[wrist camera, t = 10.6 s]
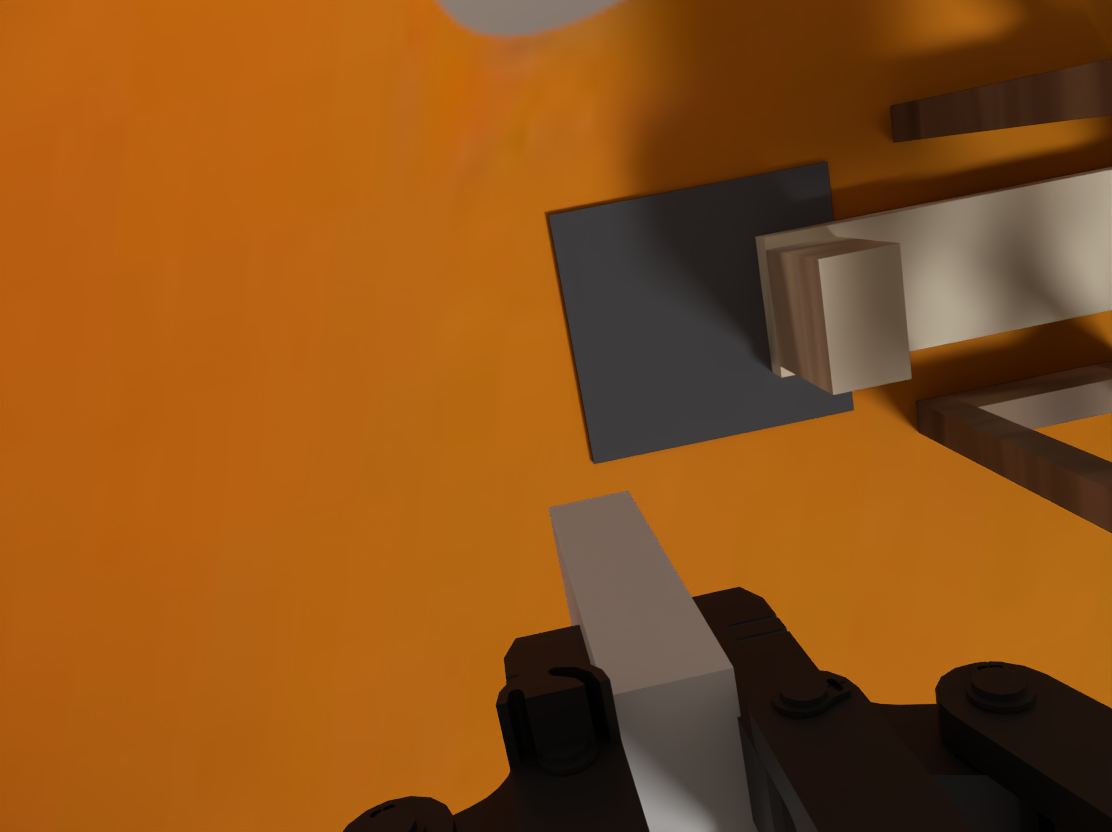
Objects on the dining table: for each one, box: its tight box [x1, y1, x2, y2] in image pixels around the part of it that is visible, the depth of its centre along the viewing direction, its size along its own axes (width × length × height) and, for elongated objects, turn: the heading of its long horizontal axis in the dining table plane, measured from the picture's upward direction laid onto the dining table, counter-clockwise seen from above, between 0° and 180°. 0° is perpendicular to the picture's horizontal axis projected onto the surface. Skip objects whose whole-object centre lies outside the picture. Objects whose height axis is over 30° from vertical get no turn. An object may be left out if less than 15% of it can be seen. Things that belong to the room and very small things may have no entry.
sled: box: [755, 167, 1112, 395], centre depth 36 cm, size 21×9×7 cm, turn 100°
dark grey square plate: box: [549, 162, 854, 464], centre depth 39 cm, size 12×11×1 cm
